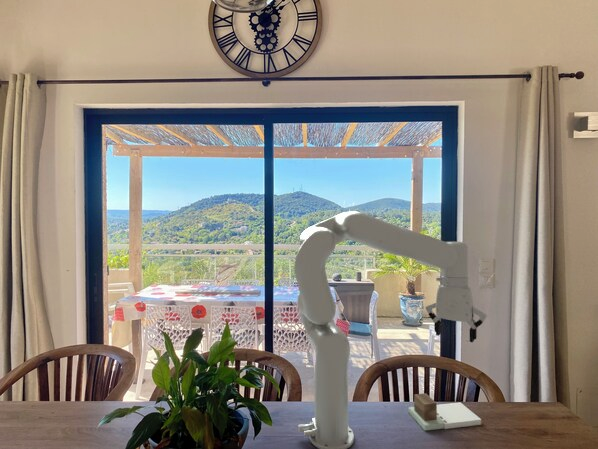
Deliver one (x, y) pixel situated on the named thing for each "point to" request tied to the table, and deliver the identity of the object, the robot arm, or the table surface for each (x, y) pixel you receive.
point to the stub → (425, 412)
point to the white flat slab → (456, 415)
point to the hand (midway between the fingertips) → (454, 337)
